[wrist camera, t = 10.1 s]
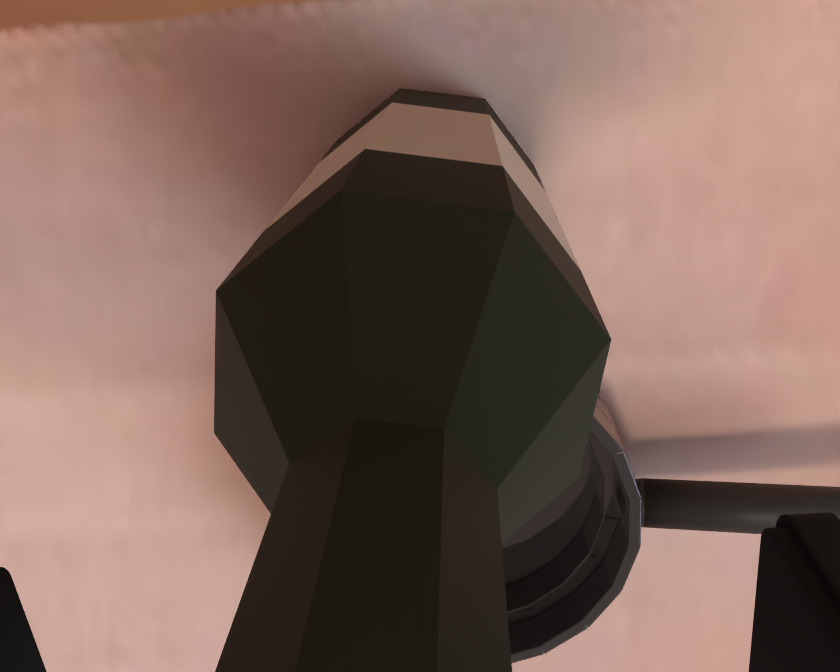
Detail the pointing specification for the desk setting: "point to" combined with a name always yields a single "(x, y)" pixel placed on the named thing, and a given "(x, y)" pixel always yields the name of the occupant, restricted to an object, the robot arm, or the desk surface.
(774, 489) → the pan handle
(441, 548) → the wine bottle
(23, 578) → the desk surface
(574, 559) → the pan
